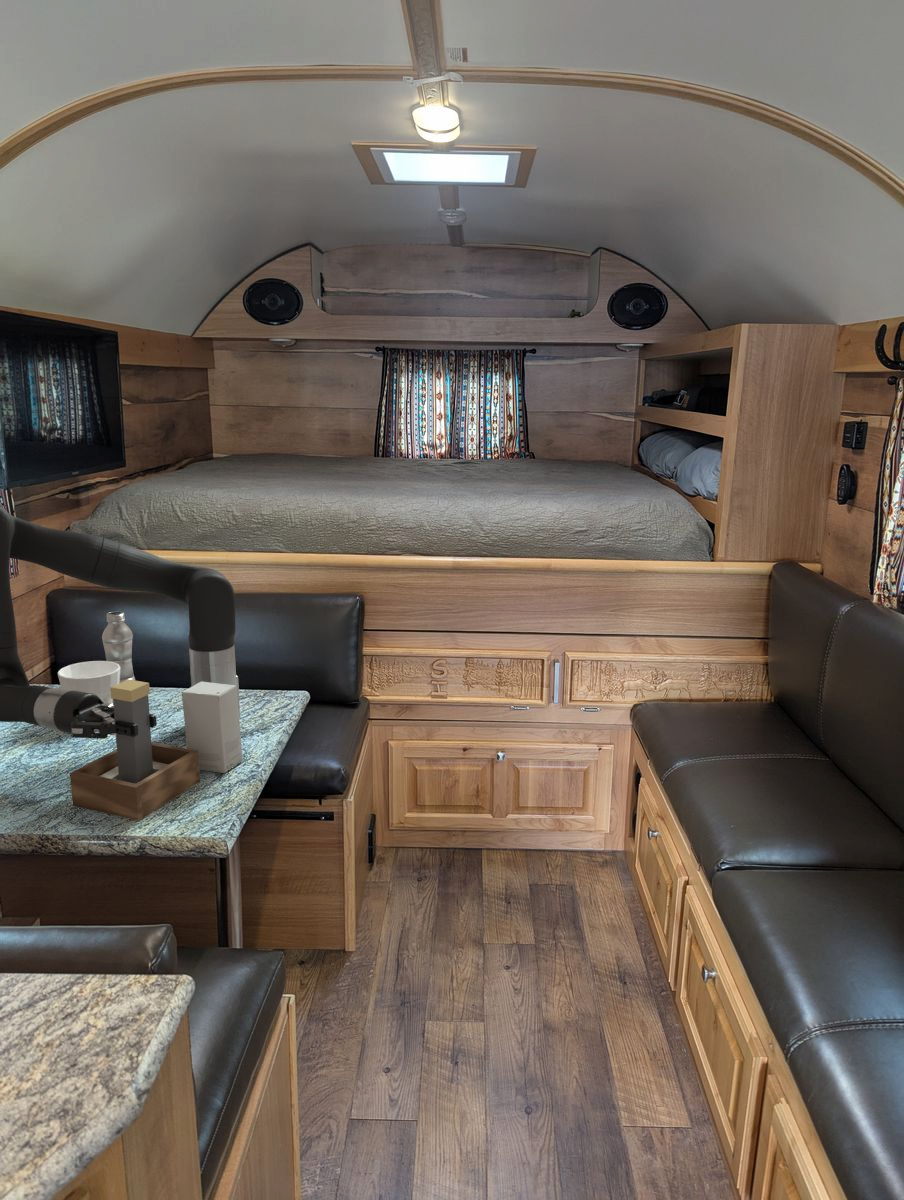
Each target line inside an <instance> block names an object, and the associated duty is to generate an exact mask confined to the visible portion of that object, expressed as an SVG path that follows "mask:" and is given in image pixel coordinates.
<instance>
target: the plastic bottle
mask: <svg viewBox="0 0 904 1200" xmlns="http://www.w3.org/2000/svg"><path fill="white" fill-rule="evenodd" d="M106 622H107V623H108V624H107V626H106V627H105V628H104V631H103V632H102V635H101V639H102V644H103V645H102V646H103V648H104V649H103V650H104V652H105V659H106V660H105V661H108V662H114V663H117V664H118V665H119V666H120V667H121V668H120V681H119V683H122V682H124V681H126V680H135V681H136V678H135V675H134V669H133V668H134V667H133V659H132V655H133V654H132V652H133V651H132V648H133V638H134V635H133V632H132V629H131V628H130V627H129V626H128V625H127V624H126V623H125V622H126V618H125V612H124V611H111V612H107V613H106Z"/></svg>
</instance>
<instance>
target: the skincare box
mask: <svg viewBox="0 0 904 1200" xmlns="http://www.w3.org/2000/svg"><path fill="white" fill-rule="evenodd" d="M181 699H182V701H181V702H182V710H183V719H184V729H185V730H184V732H185V738H186V739H185V740H186V749H190V750H195V751H198V753H199V769H200V770H201V771H206V770H207V771H206V772H212V771H213V773H220V774H226V773H227V772H229V771H230V770H232V769H233V768H235V767H236V766H237V765H239V764H240V763H241V762H242V761H243V749H242V739H241V737H242V736H241V725H240V717H239V710H238V698H237V685H228V684H218V683H209V682H199V683H197V684H196V685H194V686H192V687H191V686H190V687H189V688H187V689H184V690H183V691H181ZM240 761H241V762H240ZM239 762H240V763H239ZM238 763H239V764H238ZM236 764H237V765H236ZM235 765H236V766H235ZM234 766H235V767H234ZM232 767H233V768H232ZM231 768H232V769H231ZM228 770H229V771H228Z"/></svg>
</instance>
